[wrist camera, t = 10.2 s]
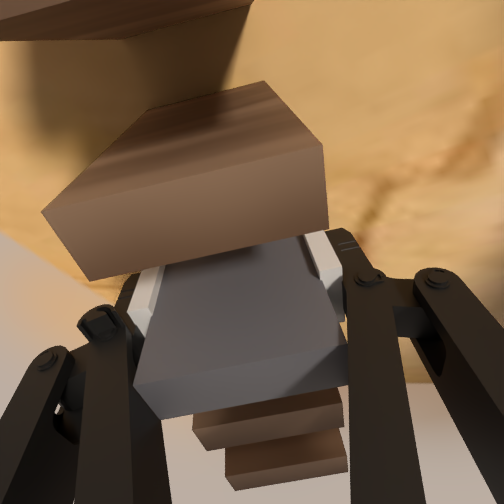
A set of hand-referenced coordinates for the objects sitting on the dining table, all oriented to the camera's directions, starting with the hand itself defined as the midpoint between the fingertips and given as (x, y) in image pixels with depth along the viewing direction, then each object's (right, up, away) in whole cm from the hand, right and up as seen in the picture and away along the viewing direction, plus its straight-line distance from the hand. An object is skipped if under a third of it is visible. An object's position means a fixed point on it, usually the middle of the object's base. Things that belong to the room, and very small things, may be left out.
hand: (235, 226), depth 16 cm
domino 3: (-1, +6, 0) cm, 6 cm away
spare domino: (0, +1, +2) cm, 2 cm away
